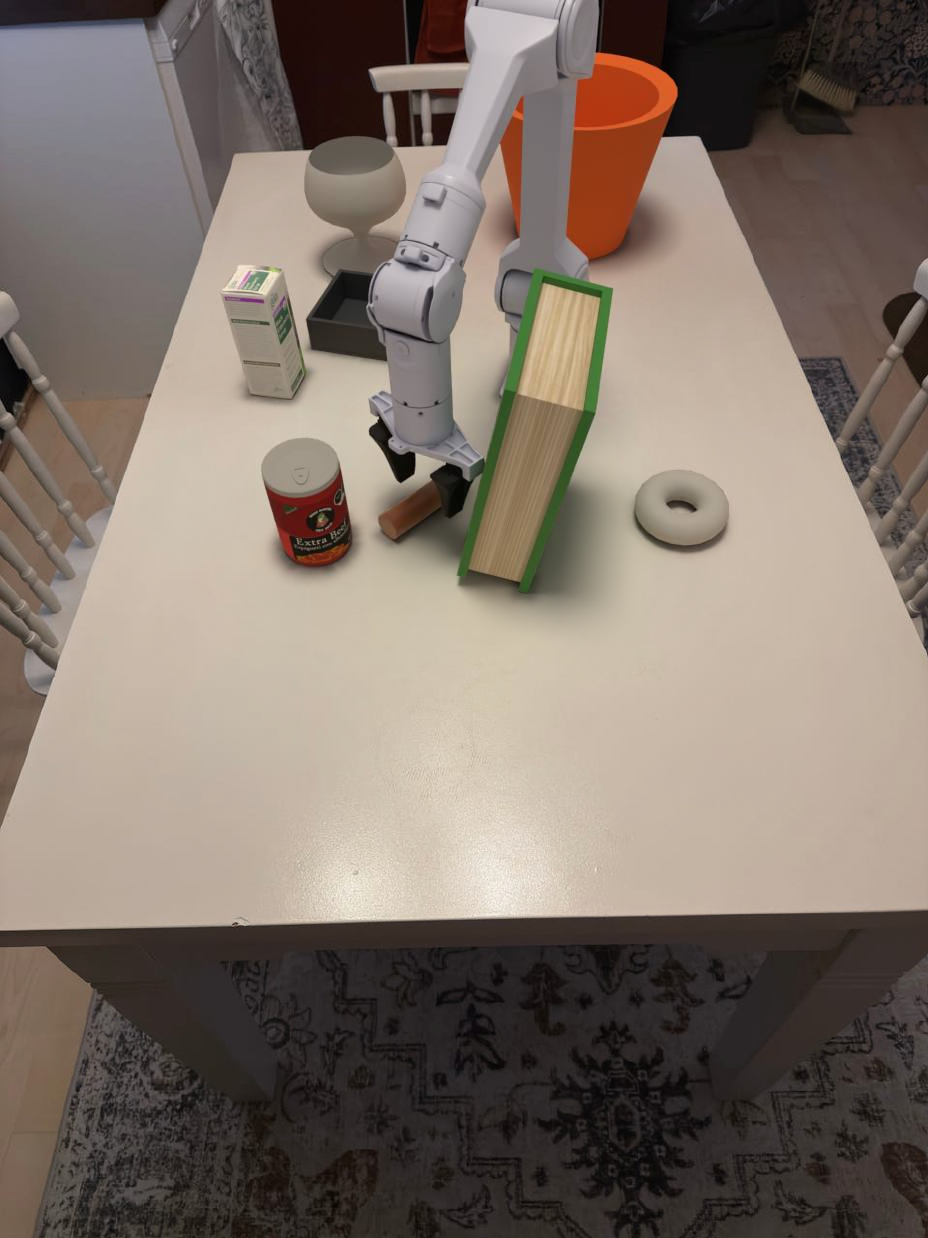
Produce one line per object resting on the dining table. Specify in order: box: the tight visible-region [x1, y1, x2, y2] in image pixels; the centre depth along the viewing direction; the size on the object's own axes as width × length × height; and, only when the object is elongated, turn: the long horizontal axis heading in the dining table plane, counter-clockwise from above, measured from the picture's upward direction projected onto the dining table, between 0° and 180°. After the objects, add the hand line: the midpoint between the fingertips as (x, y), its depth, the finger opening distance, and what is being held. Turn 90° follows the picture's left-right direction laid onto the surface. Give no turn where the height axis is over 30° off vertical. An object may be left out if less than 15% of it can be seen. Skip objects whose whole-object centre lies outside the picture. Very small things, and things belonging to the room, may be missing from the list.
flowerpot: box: [499, 52, 679, 261], centre depth 119 cm, size 25×25×20 cm
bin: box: [305, 269, 388, 362], centre depth 111 cm, size 13×12×4 cm
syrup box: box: [220, 264, 307, 400], centre depth 101 cm, size 6×6×14 cm
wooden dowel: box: [377, 479, 442, 540], centre depth 91 cm, size 10×3×3 cm
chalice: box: [303, 135, 407, 277], centre depth 117 cm, size 14×14×15 cm
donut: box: [634, 469, 730, 546], centre depth 89 cm, size 10×4×10 cm
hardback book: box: [456, 268, 614, 594], centre depth 80 cm, size 18×7×24 cm, turn 169°
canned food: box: [260, 437, 353, 567], centre depth 85 cm, size 8×8×11 cm
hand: (429, 494), depth 88 cm, fingers open, 7 cm apart
